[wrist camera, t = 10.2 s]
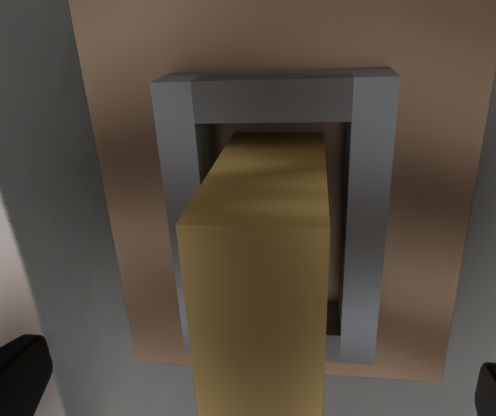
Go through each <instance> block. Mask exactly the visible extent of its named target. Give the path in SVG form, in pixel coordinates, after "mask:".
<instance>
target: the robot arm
mask: <svg viewBox="0 0 496 416" xmlns="http://www.w3.org/2000/svg"><path fill="white" fill-rule="evenodd" d="M52 370H53V363H52V359H51V356H50V352H49V349H48V346H47V342H46V339H45V338H44V337H43V336H41V335H32V334H25V335H22V336H20V337H18V338H16V339H14V340H13V341H11V342H9V343H7V344H6V345H4V346H2V347H0V416H34V413H35V411H36V409H37V407H38V404H39V402H40V400H41V398H42V395H43V393H44V391H45V388H46V386H47V384H48V381H49V379H50V377H51V374H52ZM475 406H476V410H477V414H478V416H496V363H493V362H486V363H483V365H482V366H481V369H480V373H479V378H478V382H477V387H476V391H475Z"/></svg>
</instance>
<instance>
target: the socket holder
mask: <svg viewBox="0 0 496 416" xmlns="http://www.w3.org/2000/svg"><path fill="white" fill-rule="evenodd" d="M68 2H69V7H70V13H71V18H72V23H73V28H74V34H75V39H76V44H77V49H78V55H79V60H80V65H81V71H82V76H83V81H84V86H85V92H86V97H87V102H88V108H89V113H90V118H91V123H92V129H93V134H94V139H95V145H96V150H97V155H98V160H99V166H100V171H101V176H102V181H103V187H104V192H105V197H106V203H107V208H108V213H109V218H110V224H111V229H112V234H113V240H114V245H115V250H116V255H117V261H118V266H119V271H120V277H121V282H122V287H123V292H124V298H125V303H126V308H127V313H128V319H129V324H130V329H131V335H132V340H133V345H134V350H135V356H136V361H137V362H149V363H164V364H179V365H192V360H191V352H190V343H189V335H188V326H187V318H186V309H185V301H184V292H183V284H182V276H181V267H180V259H179V250H178V242H177V233H176V223H177V222H178V220H179V218H180V217H181V215H182V214H183V212H184V210H185V209H186V207H187V206H188V204H189V203H190V201H191V199H192V198H193V196H194V195H195V193H196V192H197V190H198V188H199V187H200V185H201V184H202V182H203V181H204V179H205V177H206V176H207V174H208V173H209V171H210V170H211V168H212V166H213V165H214V163H215V162H216V160H217V158H218V157H219V155H220V154H221V152H222V151H223V149H224V147H225V146H226V144H227V143H228V141H229V140H230V138H231V136H232V135H233V133H248V132H324V140H325V155H326V171H327V186H328V202H329V217H330V248H329V273H328V298H327V324H326V349H325V374H327V375H342V376H357V377H372V378H386V379H401V380H416V381H431V382H441V379H442V373H443V367H444V362H445V356H446V350H447V344H448V339H449V333H450V327H451V322H452V316H453V310H454V304H455V299H456V293H457V287H458V281H459V276H460V270H461V264H462V259H463V253H464V247H465V241H466V236H467V230H468V224H469V218H470V213H471V207H472V201H473V196H474V190H475V184H476V178H477V173H478V167H479V161H480V156H481V150H482V144H483V138H484V133H485V127H486V121H487V115H488V110H489V104H490V98H491V93H492V87H493V81H494V75H495V70H496V0H68Z"/></svg>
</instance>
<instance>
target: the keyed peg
mask: <svg viewBox="0 0 496 416" xmlns="http://www.w3.org/2000/svg"><path fill="white" fill-rule="evenodd" d="M176 233H177V242H178V250H179V259H180V267H181V276H182V284H183V292H184V301H185V309H186V318H187V326H188V335H189V343H190V352H191V360H192V369H193V377H194V385H195V394H196V402H197V411H198V416H323V399H324V374H325V349H326V324H327V298H328V273H329V248H330V217H329V202H328V186H327V171H326V155H325V140H324V132H248V133H233V135H232V136H231V138H230V140H229V141H228V143H227V144H226V146H225V147H224V149H223V151H222V152H221V154H220V155H219V157H218V158H217V160H216V162H215V163H214V165H213V166H212V168H211V170H210V171H209V173H208V174H207V176H206V177H205V179H204V181H203V182H202V184H201V185H200V187H199V188H198V190H197V192H196V193H195V195H194V196H193V198H192V199H191V201H190V203H189V204H188V206H187V207H186V209H185V210H184V212H183V214H182V215H181V217H180V218H179V220H178V222H177V223H176Z"/></svg>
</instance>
